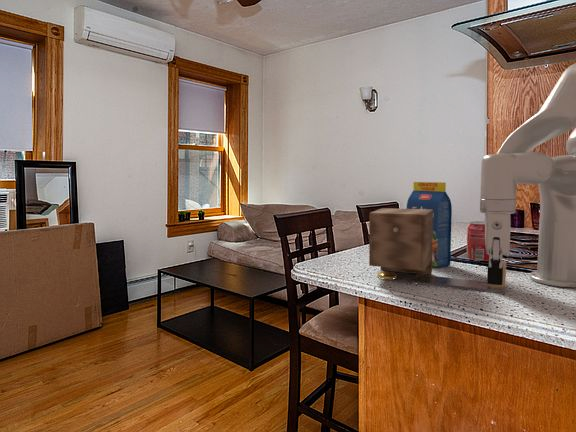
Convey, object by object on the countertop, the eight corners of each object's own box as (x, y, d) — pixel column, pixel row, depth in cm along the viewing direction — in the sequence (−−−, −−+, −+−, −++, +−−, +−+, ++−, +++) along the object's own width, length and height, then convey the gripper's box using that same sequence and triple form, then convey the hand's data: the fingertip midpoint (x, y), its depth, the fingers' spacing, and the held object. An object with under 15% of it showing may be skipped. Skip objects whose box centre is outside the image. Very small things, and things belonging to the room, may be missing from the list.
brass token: (398, 277, 111) (398, 272, 110) (394, 281, 106) (394, 277, 106) (380, 275, 113) (380, 271, 113) (375, 279, 108) (375, 275, 108)
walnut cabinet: (431, 274, 112) (433, 209, 110) (423, 287, 99) (425, 215, 97) (381, 269, 118) (381, 208, 116) (368, 281, 106) (368, 213, 104)
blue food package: (436, 268, 118) (438, 182, 115) (405, 261, 128) (406, 182, 125) (450, 265, 121) (452, 182, 118) (419, 258, 131) (420, 181, 129)
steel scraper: (504, 287, 100) (505, 259, 99) (505, 295, 93) (506, 265, 93) (416, 278, 109) (417, 252, 108) (411, 284, 103) (412, 258, 102)
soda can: (483, 257, 131) (485, 220, 129) (495, 262, 124) (497, 223, 122) (462, 258, 130) (463, 221, 129) (473, 263, 123) (474, 224, 122)
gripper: (517, 210, 86) (513, 293, 88) (514, 203, 101) (511, 275, 103) (478, 209, 90) (476, 289, 92) (481, 203, 105) (478, 272, 107)
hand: (494, 280), depth 97 cm, fingers open, 4 cm apart
